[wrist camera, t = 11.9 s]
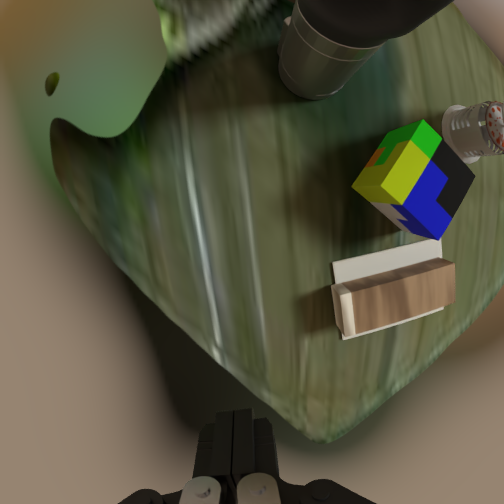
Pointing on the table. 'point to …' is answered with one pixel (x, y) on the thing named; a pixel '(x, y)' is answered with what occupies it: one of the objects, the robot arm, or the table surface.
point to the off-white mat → (386, 266)
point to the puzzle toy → (415, 180)
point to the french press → (474, 130)
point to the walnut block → (393, 295)
